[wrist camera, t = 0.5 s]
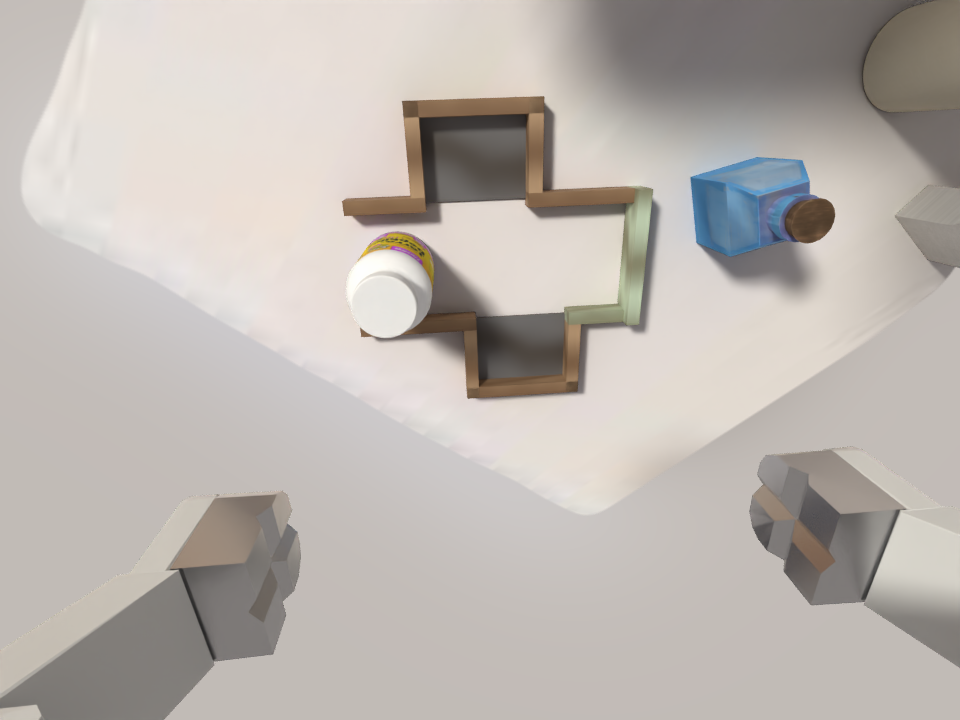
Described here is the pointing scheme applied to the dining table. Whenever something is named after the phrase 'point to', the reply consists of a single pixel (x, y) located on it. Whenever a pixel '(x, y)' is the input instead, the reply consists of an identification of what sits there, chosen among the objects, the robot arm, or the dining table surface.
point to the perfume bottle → (758, 206)
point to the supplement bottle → (391, 285)
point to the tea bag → (934, 223)
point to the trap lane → (519, 174)
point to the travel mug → (916, 60)
